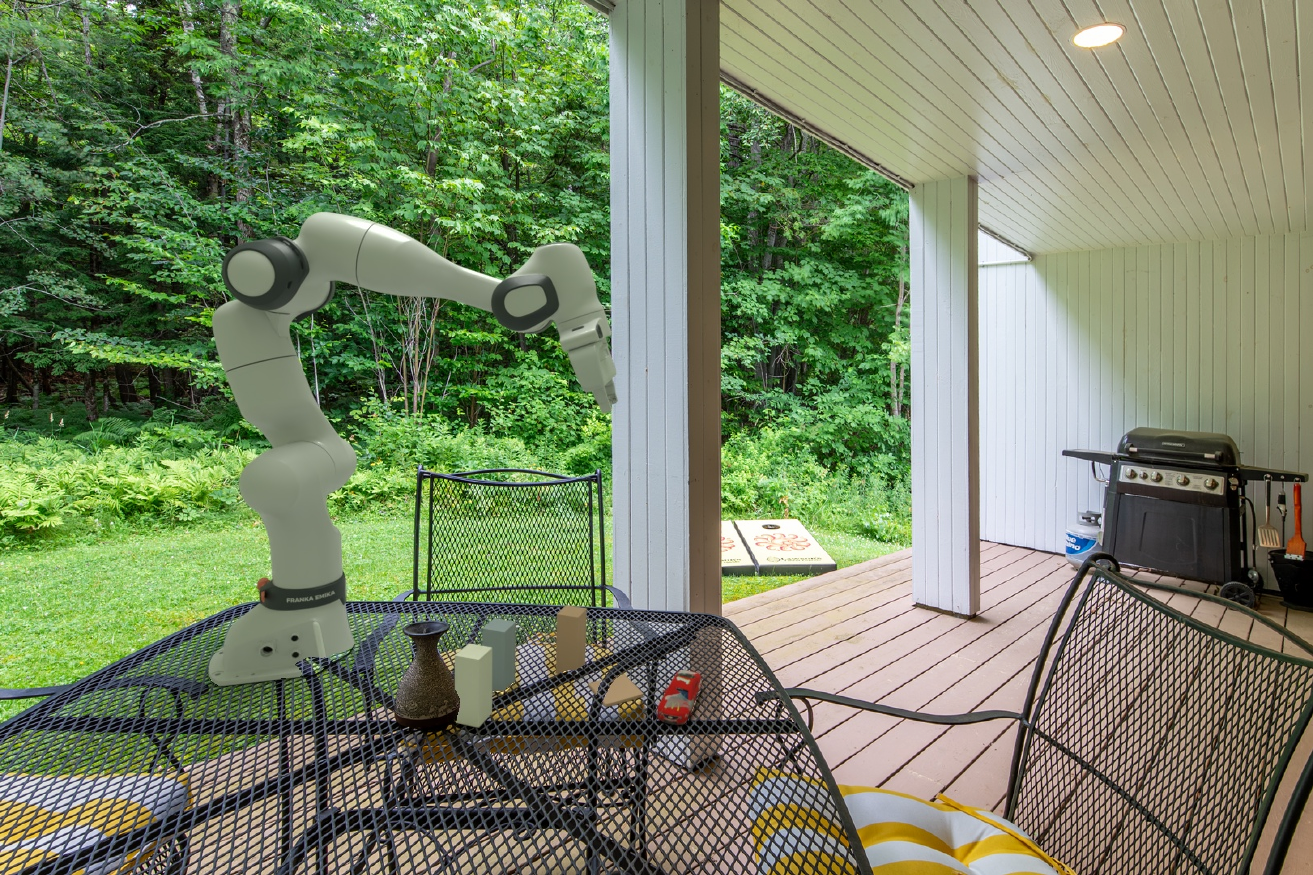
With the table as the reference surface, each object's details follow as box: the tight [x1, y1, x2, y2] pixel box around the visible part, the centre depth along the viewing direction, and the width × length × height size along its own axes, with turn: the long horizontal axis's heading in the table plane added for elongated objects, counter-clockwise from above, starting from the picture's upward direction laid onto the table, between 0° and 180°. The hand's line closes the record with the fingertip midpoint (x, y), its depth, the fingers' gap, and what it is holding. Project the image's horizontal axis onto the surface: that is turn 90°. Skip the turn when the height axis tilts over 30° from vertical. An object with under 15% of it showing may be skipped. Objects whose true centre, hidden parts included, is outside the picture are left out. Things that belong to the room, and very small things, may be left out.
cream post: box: [454, 643, 493, 729], centre depth 97 cm, size 4×4×11 cm
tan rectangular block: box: [555, 604, 588, 674], centre depth 113 cm, size 4×4×11 cm
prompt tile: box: [587, 673, 645, 708], centre depth 107 cm, size 7×7×1 cm
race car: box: [656, 669, 703, 726], centre depth 104 cm, size 13×5×4 cm, turn 161°
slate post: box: [481, 617, 517, 691], centre depth 106 cm, size 4×4×11 cm
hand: (610, 407), depth 114 cm, fingers open, 8 cm apart
